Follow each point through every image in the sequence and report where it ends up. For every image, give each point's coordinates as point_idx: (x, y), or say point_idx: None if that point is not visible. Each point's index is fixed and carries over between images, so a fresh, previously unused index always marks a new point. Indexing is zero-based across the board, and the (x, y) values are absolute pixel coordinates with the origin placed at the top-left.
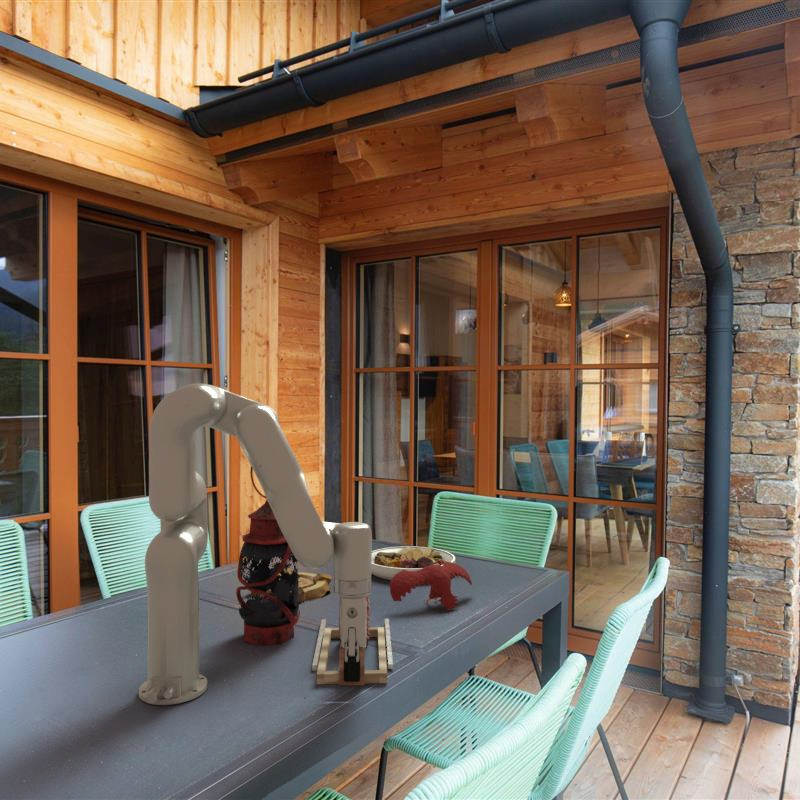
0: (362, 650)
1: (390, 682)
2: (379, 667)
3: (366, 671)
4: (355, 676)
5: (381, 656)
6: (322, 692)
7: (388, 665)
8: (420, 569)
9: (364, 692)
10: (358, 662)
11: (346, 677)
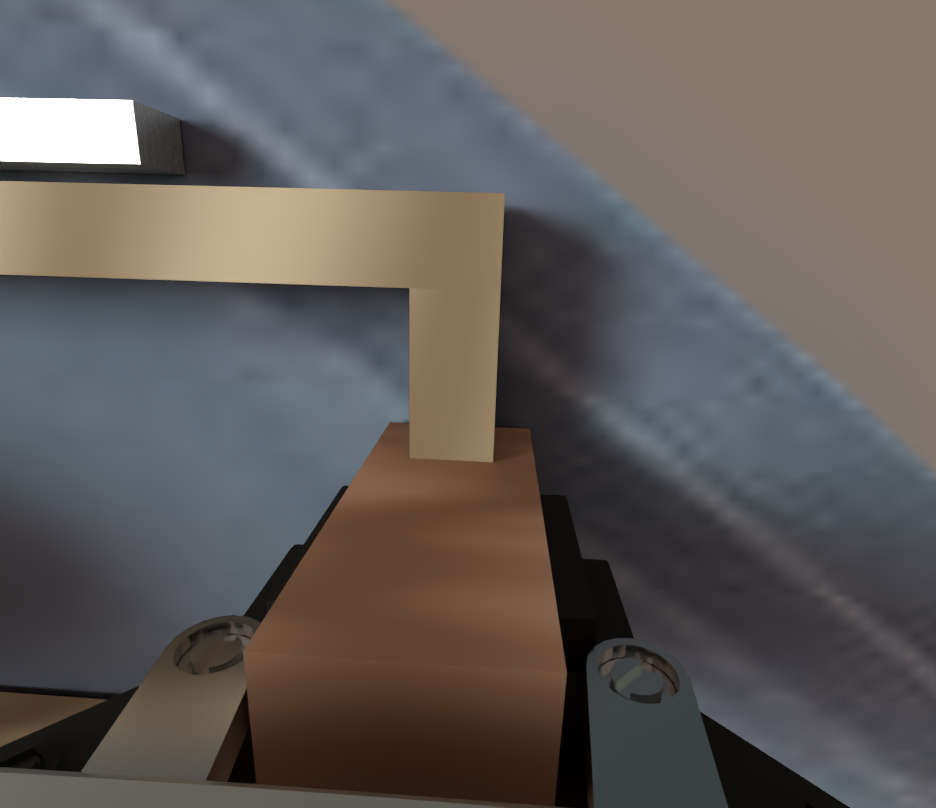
0: (561, 703)
1: (462, 163)
2: (333, 284)
3: (443, 440)
4: (605, 566)
5: (5, 241)
6: None
7: (149, 162)
8: None
9: (653, 430)
10: (591, 629)
11: None
